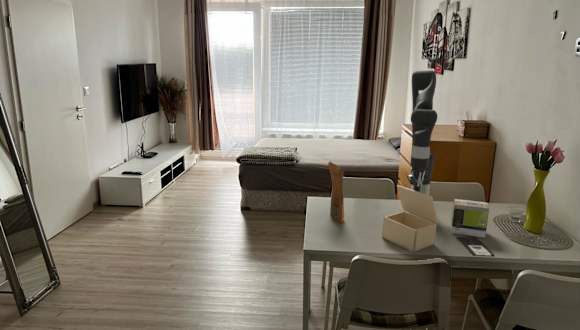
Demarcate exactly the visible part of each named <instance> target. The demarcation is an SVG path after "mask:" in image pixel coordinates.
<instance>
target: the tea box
mask: <svg viewBox="0 0 580 330" xmlns="http://www.w3.org/2000/svg"><path fill="white" fill-rule="evenodd" d="M489 213H490V207H489V204H488V201H487V202H486V201H479V200H477V201H475V200H469V199H459V198H454V199H453V206H452V214H451V222H450V225H451V226H450V227H451V228H450V229H451V234H454V235H455V234H456V235H461V236H462V235H463V236H467V237H477V238H483V239H485V238H486V234H487V227H488V223H489V222H488V220H489Z"/></svg>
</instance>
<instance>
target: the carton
mask: <svg viewBox="0 0 580 330" xmlns="http://www.w3.org/2000/svg"><path fill="white" fill-rule="evenodd" d="M382 222H383V223H382V229H381V231H382V233H381V238H382V239H384V240H387V241H389V242H391V243H393V244H395V245H397V246H399V247H402V248H404V249H405V250H408V251H410V252H411V253H416V252H419V251H422V250H425V249H427V248H429V247H431V246H434V245H435V241H436V233H437V232H436V231H437V223H436V222H433V221H431V220H428V219H425V218H423V217H420V216H415V215H413V214H410V213H409V212H407V211H404V210H403V211H400V212H396V213H393V214H390V215H386V216H383V221H382Z"/></svg>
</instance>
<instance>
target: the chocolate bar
mask: <svg viewBox="0 0 580 330" xmlns="http://www.w3.org/2000/svg"><path fill="white" fill-rule="evenodd" d="M456 238H457V239H458V241H459V242H460V243H461V244H462V245H463V246H464V248H465V249H466V250H467V251H468V250H469V251H468V252H469V253H470V254H471V255H472V256H475V255H485V256H484V257H486V256H487V257H488V256H489V257H494V256H495V254H494V252H492V251H491V250H490V249H489V248H488V247H487V246H486V244H484V243H483V242H482V241H481V240H480V239H479V237H476V236H456Z"/></svg>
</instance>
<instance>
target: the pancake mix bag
mask: <svg viewBox="0 0 580 330" xmlns="http://www.w3.org/2000/svg"><path fill="white" fill-rule="evenodd" d="M327 165H328V169H329V172H330V178H331V184H332V185H331V198H330V209H329V211H330V216H331V217H332V219H333V220H334V222H335V223H340V224H342V223H343V222H344V220H345V210H344V209H345V207H344V191H343V190H344V185H343V184H344V182H343V181H344V170H343V169H342V167H340V166H339V165H337V164H336V163H333V162H332V161H331V160H330V161H329V162H328V163H327Z"/></svg>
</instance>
